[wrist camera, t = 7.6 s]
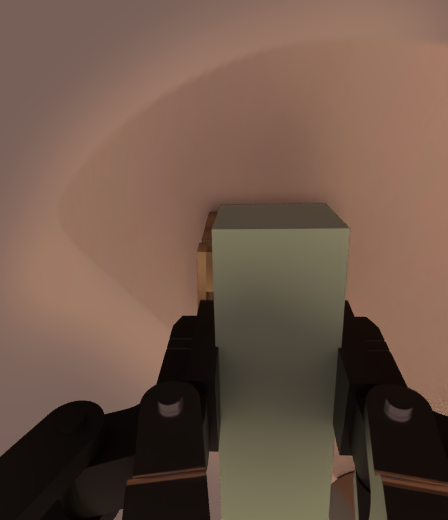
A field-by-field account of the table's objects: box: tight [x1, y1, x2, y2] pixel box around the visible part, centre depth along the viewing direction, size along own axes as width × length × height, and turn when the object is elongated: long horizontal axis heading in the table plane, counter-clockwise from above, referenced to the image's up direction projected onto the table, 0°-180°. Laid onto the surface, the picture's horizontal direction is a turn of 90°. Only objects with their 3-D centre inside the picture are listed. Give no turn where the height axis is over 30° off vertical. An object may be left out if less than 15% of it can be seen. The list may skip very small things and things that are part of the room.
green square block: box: [212, 203, 350, 520], centre depth 12 cm, size 3×3×10 cm
